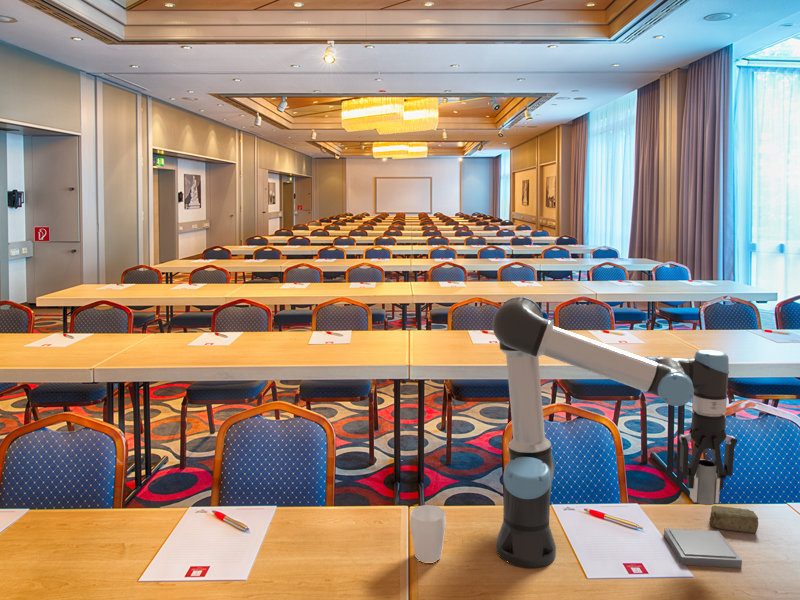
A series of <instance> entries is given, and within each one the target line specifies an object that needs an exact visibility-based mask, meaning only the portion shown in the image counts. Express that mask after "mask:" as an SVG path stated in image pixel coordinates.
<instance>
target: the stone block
mask: <svg viewBox="0 0 800 600" xmlns="http://www.w3.org/2000/svg"><path fill="white" fill-rule="evenodd" d="M709 523H710V525H711V526H712V528H716V529H718V530H724V531H732V532H739V533H740V532H741V533H742V532H743V533H750V534H755V533H757V532H758V529H759V517H758V515H757V514H756V512H754V511H753V510H750V509H747V508H741V507H740V508H738V507H731V506H721V505H711V509H710V516H709Z"/></svg>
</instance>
